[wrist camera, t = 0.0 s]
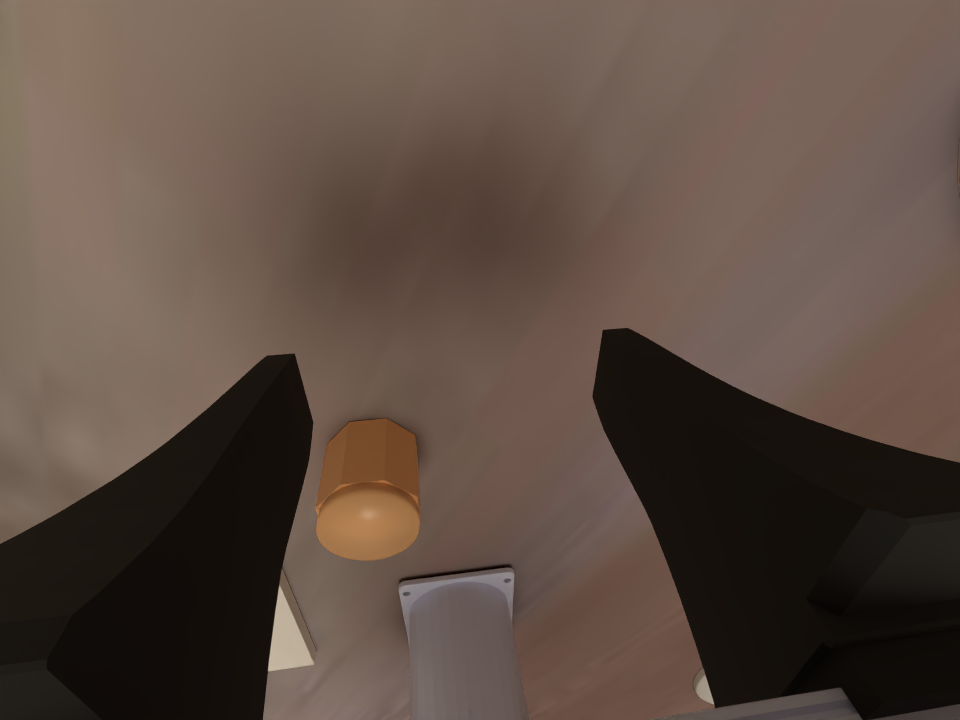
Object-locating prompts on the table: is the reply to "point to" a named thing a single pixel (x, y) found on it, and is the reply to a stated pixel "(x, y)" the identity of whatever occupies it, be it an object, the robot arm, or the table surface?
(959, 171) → the lighter
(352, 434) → the cap
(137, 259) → the table surface
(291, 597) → the post board
